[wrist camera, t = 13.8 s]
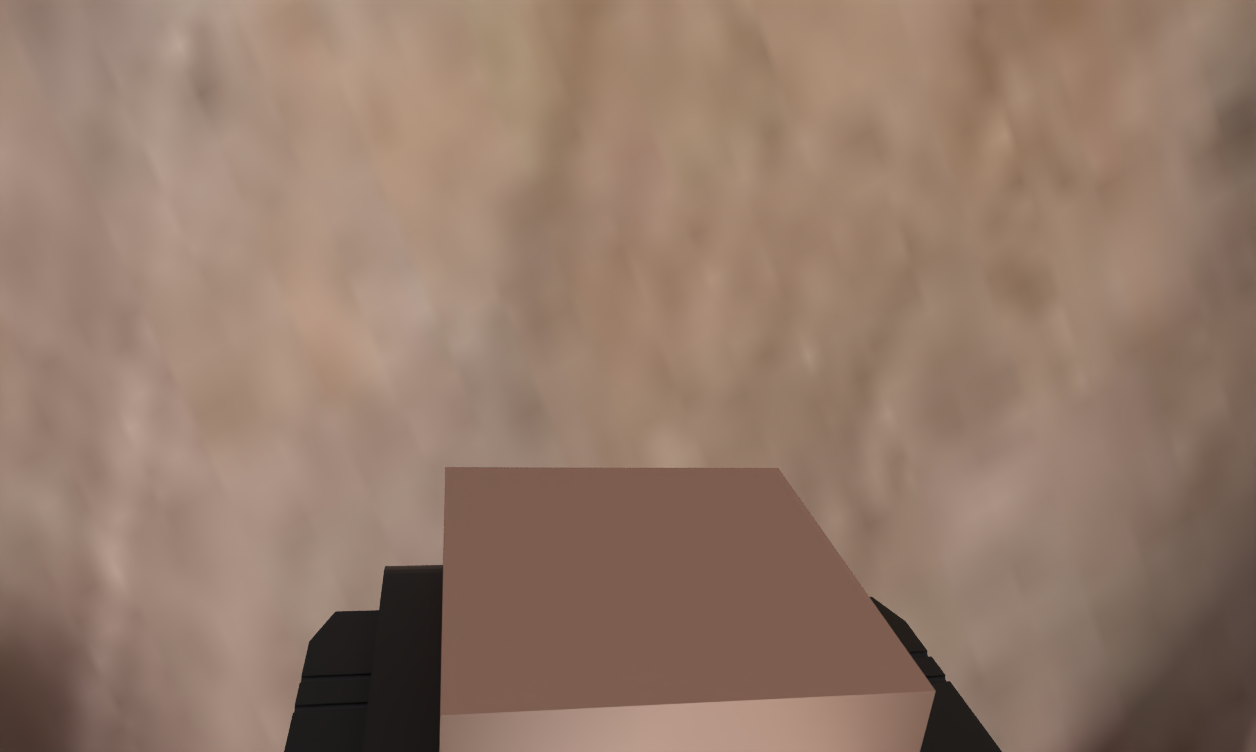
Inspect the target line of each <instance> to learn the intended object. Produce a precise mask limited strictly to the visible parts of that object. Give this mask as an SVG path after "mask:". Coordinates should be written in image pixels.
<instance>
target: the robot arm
mask: <svg viewBox="0 0 1256 752" xmlns="http://www.w3.org/2000/svg"><path fill="white" fill-rule="evenodd" d="M442 599H443V565H422V566H385V569H384V576H383V584H382V592H381V600H380V608H379V610H375V611H341V612H335V613H334V614H333V615H332V616H331V617H330V619H329V620H328V621H327V622H326V623H325V624H324V625H323V627H322V628H321V629H320V630H319V631H318V632H317V633H316V635H315V636H314V637H313V638H312V639H311V640H310V641H309V646H308V650H307V654H306V659H305V663H304V667H303V672H302V678H301V683H300V685H299V689H298V694H297V698H296V702H295V712H294V713H293V716H292V720H291V724H290V729H289V733H288V737H287V742H286V746H285V751H284V752H439V747H440V698H441V648H442ZM870 599H871V600H872V602H873V603H874V604H875V606H876V607H877V609H878V610H879V611H880V613H881V614H882V616H883V617H884V619H885V620H886V621H887V623H888V624H889V626H890V627H891V628H892V630H893V631H894V633H895V634H896V636H897V637H898V638H899V640H900V641H901V643H902V644H903V645H904V647H905V648H906V650H907V651H908V653H909V654H910V655H911V657H912V658H913V660H914V661H915V662H916V664H917V665H918V667H919V668H920V670H921V671H922V672H923V674H924V675H925V677H926V678H927V679H928V681H929V682H930V684H931V685H932V687H933V688H934V689H935V691H936V692H935V696H934V700H933V703H932V707H931V711H930V715H929V719H928V723H927V726H926V730H925V734H924V738H923V742H922V745H921V749H920V752H1002V751H1001V750H1000V749H999V747H998V746H997V744H996V743H995V742H994V740H993V739H992V738H991V736H990V735H989V734H988V732H987V731H986V730H985V728H984V727H983V726H982V724H981V723H980V721H979V720H978V719H977V717H976V716H975V715H974V713H973V712H972V711H971V709H970V708H969V707H968V705H967V704H966V703H965V701H964V700H963V698H962V697H961V696H960V694H959V693H958V692H957V690H956V689H955V688H954V686H953V685H952V684H951V682H950V681H947V682H946V680H945V674H944V673H943V671H942V670H941V669H940V667H939V666H938V665H937V663H936V662H935V661H934V659H933V658H932V657H928V655H927V650H926V648H925V647H924V646H923V644H922V643H921V642H920V640H919V639H918V638H917V636H916V635H915V634H914V632H913V631H912V629H911V628H910V627H909V625H908V624H907V623H906V621H904V620H903V619H901V618H900V617H899V616H897V615H896V614H895V613H893V612H892V611H891V610H889V609H888V608H886V607H885V606H884V605H882V604H881V603H880V602H878V601H877V600H875V599H874V598H873V597H870Z"/></svg>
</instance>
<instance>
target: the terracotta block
mask: <svg viewBox="0 0 1256 752" xmlns="http://www.w3.org/2000/svg"><path fill="white" fill-rule="evenodd" d="M935 692H936V691H935V689H934V688H933V687H932V685H931V684H930V682H929V681H928V679H927V678H926V677H925V675H924V674H923V672H922V671H921V670H920V668H919V667H918V665H917V664H916V662H915V661H914V660H913V658H912V657H911V655H910V654H909V653H908V651H907V650H906V648H905V647H904V645H903V644H902V643H901V641H900V640H899V638H898V637H897V636H896V634H895V633H894V631H893V630H892V628H891V627H890V626H889V624H888V623H887V621H886V620H885V619H884V617H883V616H882V614H881V613H880V611H879V610H878V609H877V607H876V606H875V604H874V603H873V602H872V600H871V599H870V597H869V596H868V594H867V593H866V592H865V590H864V589H863V587H862V586H861V585H860V583H859V582H858V580H857V579H856V577H855V576H854V575H853V573H852V572H851V570H850V569H849V568H848V566H847V565H846V563H845V562H844V560H843V559H842V558H841V556H840V555H839V553H838V552H837V551H836V549H835V548H834V546H833V545H832V543H831V542H830V541H829V539H828V538H827V536H826V535H825V534H824V532H823V531H822V529H821V528H820V527H819V525H818V524H817V522H816V521H815V519H814V518H813V517H812V515H811V514H810V512H809V511H808V510H807V508H806V507H805V505H804V504H803V502H802V501H801V500H800V498H799V497H798V495H797V494H796V493H795V491H794V490H793V488H792V487H791V485H790V484H789V483H788V481H787V480H786V478H785V477H784V476H783V474H782V473H781V471H780V470H779V468H482V467H445V505H444V548H443V599H442V648H441V698H440V747H439V752H920V749H921V745H922V742H923V738H924V734H925V730H926V726H927V723H928V719H929V715H930V711H931V707H932V703H933V700H934V696H935Z"/></svg>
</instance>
